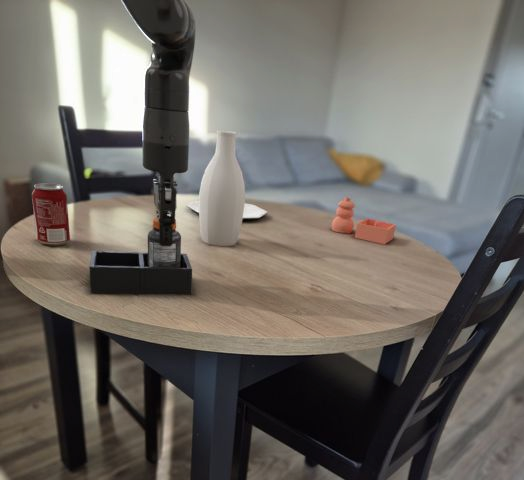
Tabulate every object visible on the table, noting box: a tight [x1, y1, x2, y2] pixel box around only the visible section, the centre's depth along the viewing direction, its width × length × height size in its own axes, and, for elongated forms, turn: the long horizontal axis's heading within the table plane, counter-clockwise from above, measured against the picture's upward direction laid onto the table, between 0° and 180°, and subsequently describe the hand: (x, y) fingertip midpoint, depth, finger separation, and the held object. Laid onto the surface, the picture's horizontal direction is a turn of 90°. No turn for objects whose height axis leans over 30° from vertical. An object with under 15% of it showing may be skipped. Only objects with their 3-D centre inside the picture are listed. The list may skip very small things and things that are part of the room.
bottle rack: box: [88, 250, 193, 295], centre depth 89 cm, size 17×9×5 cm, turn 104°
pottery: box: [331, 196, 397, 245], centre depth 142 cm, size 18×10×10 cm, turn 62°
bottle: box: [198, 129, 246, 247], centre depth 115 cm, size 11×11×25 cm
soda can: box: [31, 182, 71, 247], centre depth 103 cm, size 7×7×12 cm
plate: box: [186, 199, 268, 220], centre depth 150 cm, size 24×24×2 cm
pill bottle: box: [147, 217, 182, 268], centre depth 88 cm, size 6×6×11 cm
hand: (164, 239), depth 87 cm, fingers closed on pill bottle, 6 cm apart
